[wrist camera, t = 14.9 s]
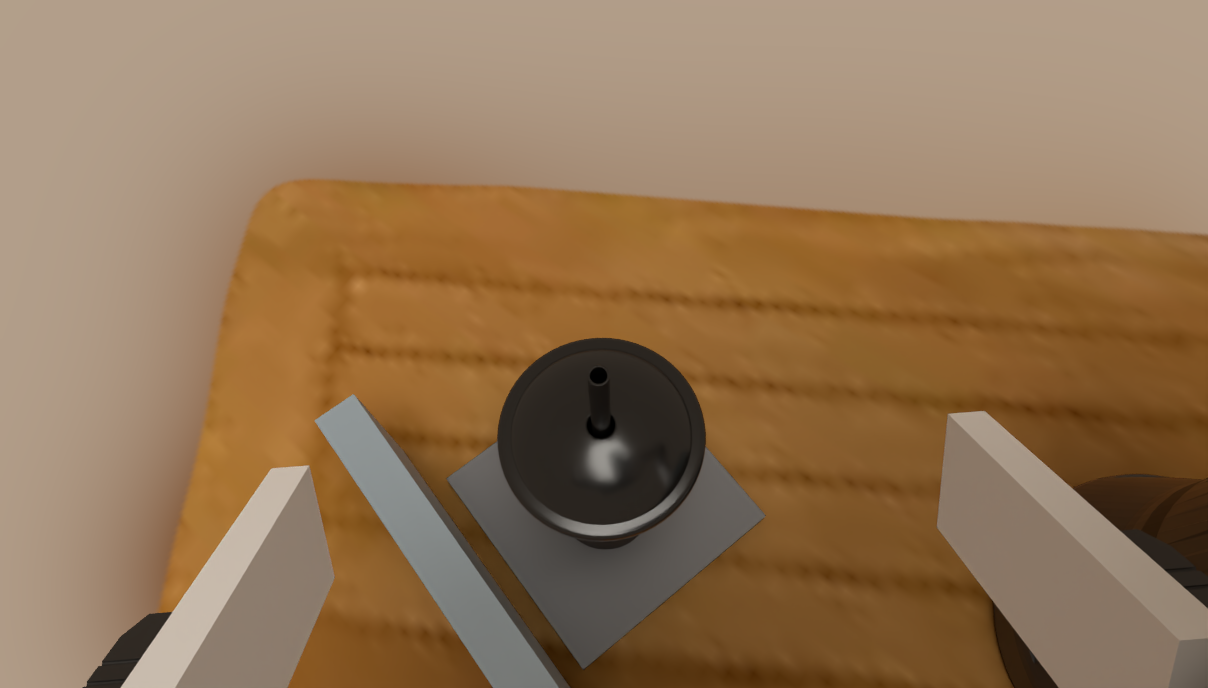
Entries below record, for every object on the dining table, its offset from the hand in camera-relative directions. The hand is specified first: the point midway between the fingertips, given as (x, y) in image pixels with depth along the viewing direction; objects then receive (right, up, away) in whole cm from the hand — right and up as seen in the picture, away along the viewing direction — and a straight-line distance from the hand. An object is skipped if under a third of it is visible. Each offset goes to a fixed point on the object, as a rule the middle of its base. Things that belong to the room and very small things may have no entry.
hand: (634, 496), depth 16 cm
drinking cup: (-1, -5, +25) cm, 26 cm away
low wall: (-7, -10, +24) cm, 27 cm away
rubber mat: (-1, -5, +26) cm, 27 cm away
